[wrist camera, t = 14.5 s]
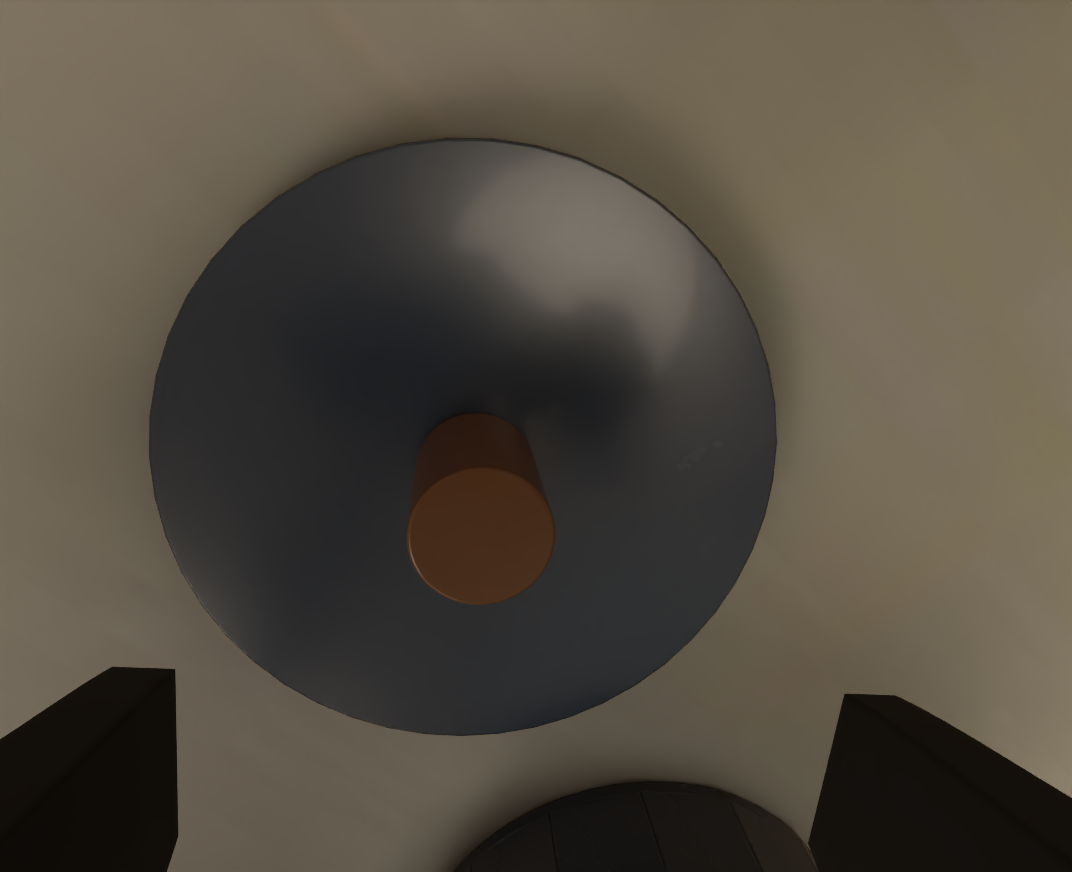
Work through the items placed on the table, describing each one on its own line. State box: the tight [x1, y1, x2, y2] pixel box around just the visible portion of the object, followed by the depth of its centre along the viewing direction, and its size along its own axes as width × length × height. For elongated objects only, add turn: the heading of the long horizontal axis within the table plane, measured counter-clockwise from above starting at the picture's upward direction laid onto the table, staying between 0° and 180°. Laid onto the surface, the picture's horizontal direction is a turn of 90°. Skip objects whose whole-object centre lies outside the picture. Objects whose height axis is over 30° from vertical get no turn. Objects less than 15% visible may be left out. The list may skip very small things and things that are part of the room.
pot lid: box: [149, 138, 777, 736], centre depth 15 cm, size 13×13×5 cm
